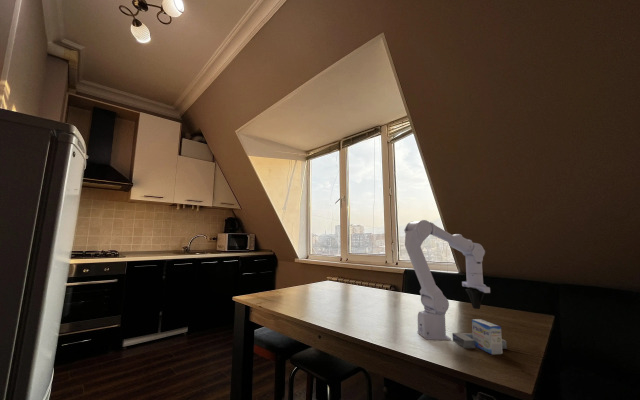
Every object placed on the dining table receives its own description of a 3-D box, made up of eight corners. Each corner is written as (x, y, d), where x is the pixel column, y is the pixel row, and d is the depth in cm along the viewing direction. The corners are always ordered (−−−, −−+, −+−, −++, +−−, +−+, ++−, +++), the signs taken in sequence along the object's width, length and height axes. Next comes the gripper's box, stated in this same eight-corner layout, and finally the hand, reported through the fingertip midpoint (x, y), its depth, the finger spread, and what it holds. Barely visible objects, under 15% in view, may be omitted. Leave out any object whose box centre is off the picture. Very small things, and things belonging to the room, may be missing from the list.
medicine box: (472, 345, 91) (471, 319, 93) (483, 344, 92) (481, 318, 94) (491, 355, 84) (490, 326, 85) (503, 354, 85) (501, 325, 86)
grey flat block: (464, 348, 88) (464, 340, 89) (452, 340, 95) (452, 333, 96) (506, 348, 89) (506, 340, 89) (492, 340, 96) (491, 333, 97)
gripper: (496, 275, 99) (499, 313, 96) (472, 271, 113) (474, 304, 111) (478, 275, 98) (481, 313, 96) (456, 270, 113) (458, 303, 110)
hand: (476, 308), depth 103 cm, fingers closed
